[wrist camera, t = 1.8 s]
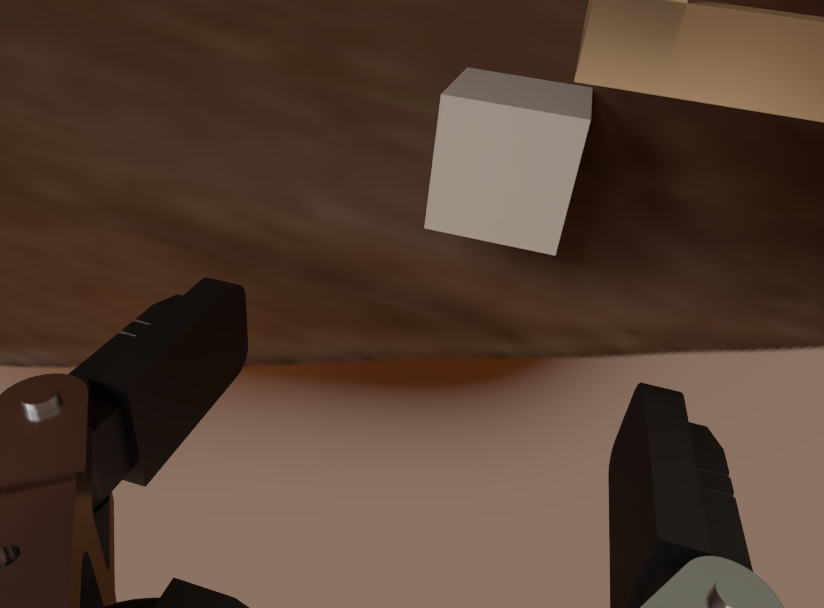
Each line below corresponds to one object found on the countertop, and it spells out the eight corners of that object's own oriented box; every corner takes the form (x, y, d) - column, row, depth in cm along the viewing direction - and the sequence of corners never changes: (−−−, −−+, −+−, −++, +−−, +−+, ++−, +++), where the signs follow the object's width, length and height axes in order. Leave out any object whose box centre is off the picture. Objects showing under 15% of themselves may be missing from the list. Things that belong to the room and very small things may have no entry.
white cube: (467, 67, 25) (441, 94, 21) (592, 87, 24) (591, 120, 20) (451, 183, 27) (424, 228, 23) (562, 205, 27) (555, 255, 22)
